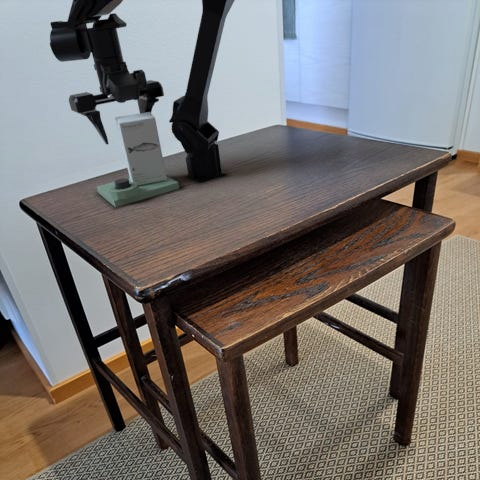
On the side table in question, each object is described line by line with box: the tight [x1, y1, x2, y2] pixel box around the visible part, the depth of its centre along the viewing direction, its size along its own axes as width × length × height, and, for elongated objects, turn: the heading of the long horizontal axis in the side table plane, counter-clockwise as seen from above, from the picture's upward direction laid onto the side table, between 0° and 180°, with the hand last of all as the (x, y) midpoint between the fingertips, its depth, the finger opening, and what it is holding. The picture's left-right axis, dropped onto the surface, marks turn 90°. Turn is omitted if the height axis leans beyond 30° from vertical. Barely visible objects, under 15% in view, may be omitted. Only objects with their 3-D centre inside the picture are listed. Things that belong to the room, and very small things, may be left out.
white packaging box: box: [114, 111, 168, 185], centre depth 93 cm, size 7×7×13 cm
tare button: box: [114, 177, 130, 190], centre depth 89 cm, size 3×3×2 cm
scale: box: [96, 176, 180, 208], centre depth 94 cm, size 14×13×3 cm
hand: (127, 139), depth 98 cm, fingers open, 9 cm apart
